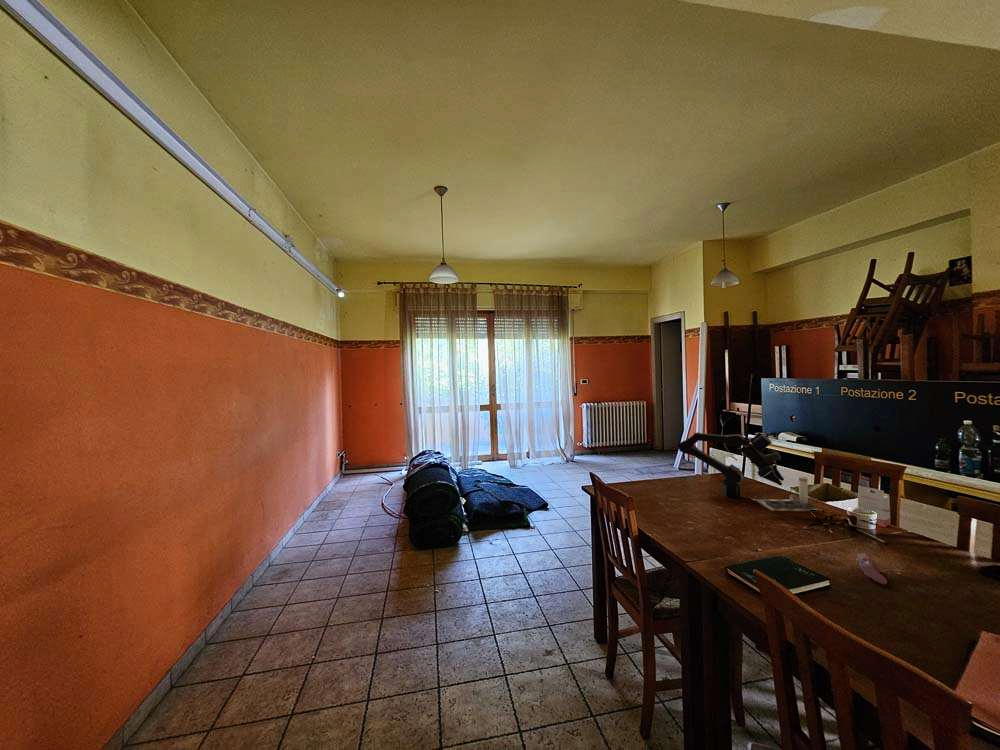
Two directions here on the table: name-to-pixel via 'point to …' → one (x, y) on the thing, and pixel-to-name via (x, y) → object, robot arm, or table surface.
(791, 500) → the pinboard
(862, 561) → the pink rounded piece
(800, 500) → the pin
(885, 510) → the ink cartridge box
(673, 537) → the table surface
